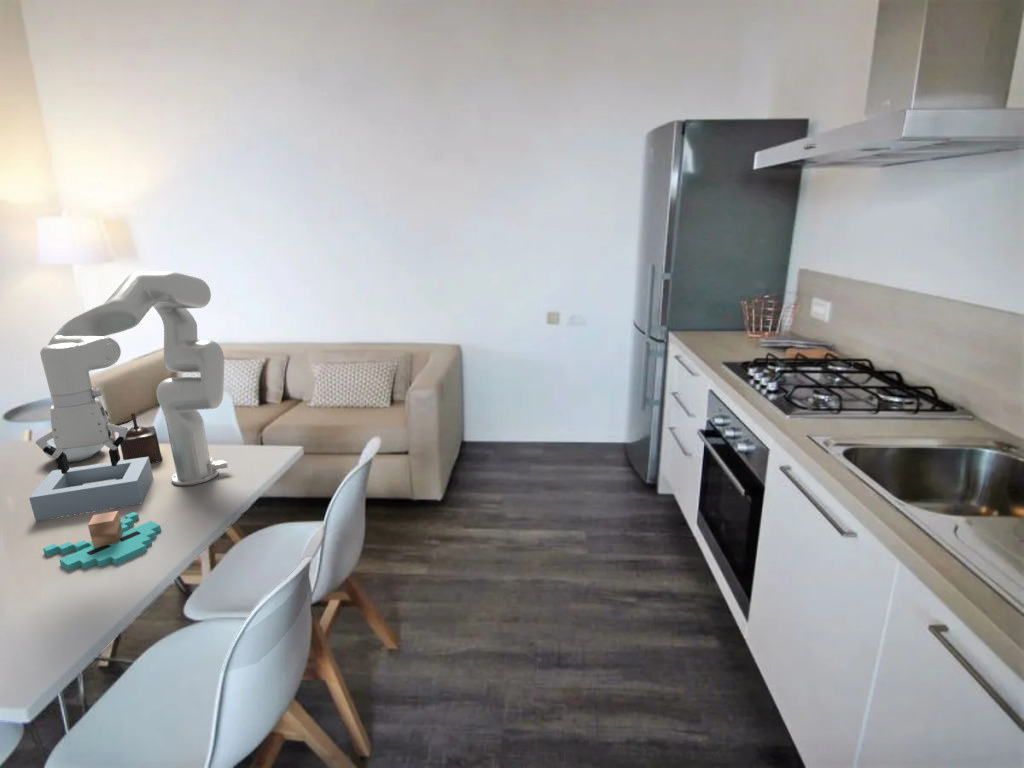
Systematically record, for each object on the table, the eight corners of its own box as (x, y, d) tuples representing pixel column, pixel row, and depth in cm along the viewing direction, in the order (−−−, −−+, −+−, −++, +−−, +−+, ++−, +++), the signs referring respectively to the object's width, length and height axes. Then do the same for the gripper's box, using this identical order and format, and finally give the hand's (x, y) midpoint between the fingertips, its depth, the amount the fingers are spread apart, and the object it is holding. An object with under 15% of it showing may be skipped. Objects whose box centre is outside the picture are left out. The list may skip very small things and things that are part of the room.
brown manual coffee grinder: (159, 450, 194) (149, 400, 189) (163, 461, 185) (152, 409, 180) (105, 461, 185) (92, 410, 180) (105, 473, 177) (93, 419, 172)
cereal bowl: (108, 443, 201) (104, 425, 199) (110, 458, 188) (105, 439, 186) (47, 455, 191) (42, 436, 189) (45, 472, 178) (39, 451, 176)
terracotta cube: (123, 532, 140) (117, 510, 138) (118, 542, 135) (113, 520, 134) (99, 536, 138) (93, 515, 136) (93, 547, 134) (87, 525, 132)
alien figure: (45, 556, 134) (83, 583, 124) (42, 548, 134) (81, 574, 123) (135, 519, 150) (176, 540, 140) (133, 511, 150) (174, 532, 140)
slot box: (153, 477, 173) (148, 456, 171) (141, 503, 157) (136, 480, 155) (57, 492, 164) (52, 470, 162) (35, 521, 148) (29, 497, 146)
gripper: (122, 388, 133) (137, 455, 138) (31, 398, 127) (50, 468, 132) (115, 397, 127) (131, 467, 132) (19, 408, 120) (39, 481, 125)
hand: (91, 467), depth 132 cm, fingers open, 9 cm apart
